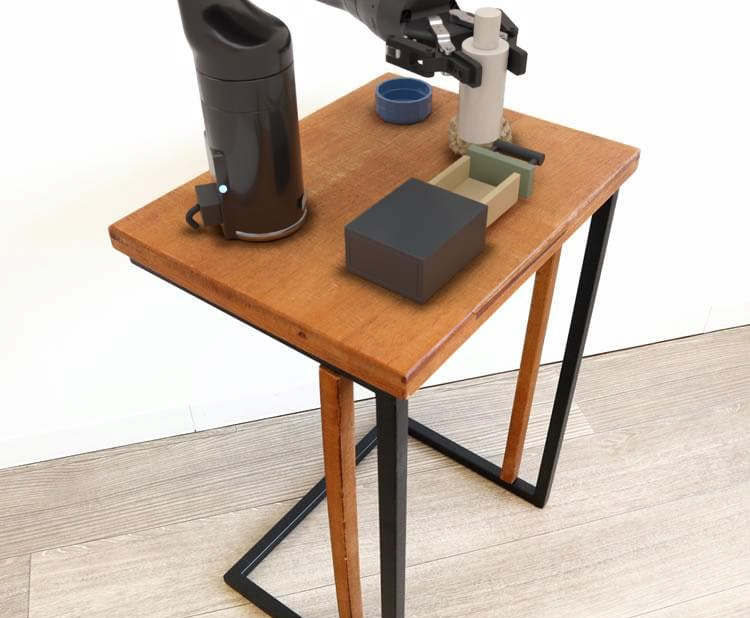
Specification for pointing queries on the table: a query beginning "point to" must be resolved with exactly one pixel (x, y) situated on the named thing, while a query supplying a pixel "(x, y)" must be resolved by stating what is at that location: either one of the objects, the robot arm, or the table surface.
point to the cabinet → (415, 239)
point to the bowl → (403, 100)
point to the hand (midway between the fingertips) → (501, 71)
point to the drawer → (492, 176)
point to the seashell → (461, 146)
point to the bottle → (484, 81)
